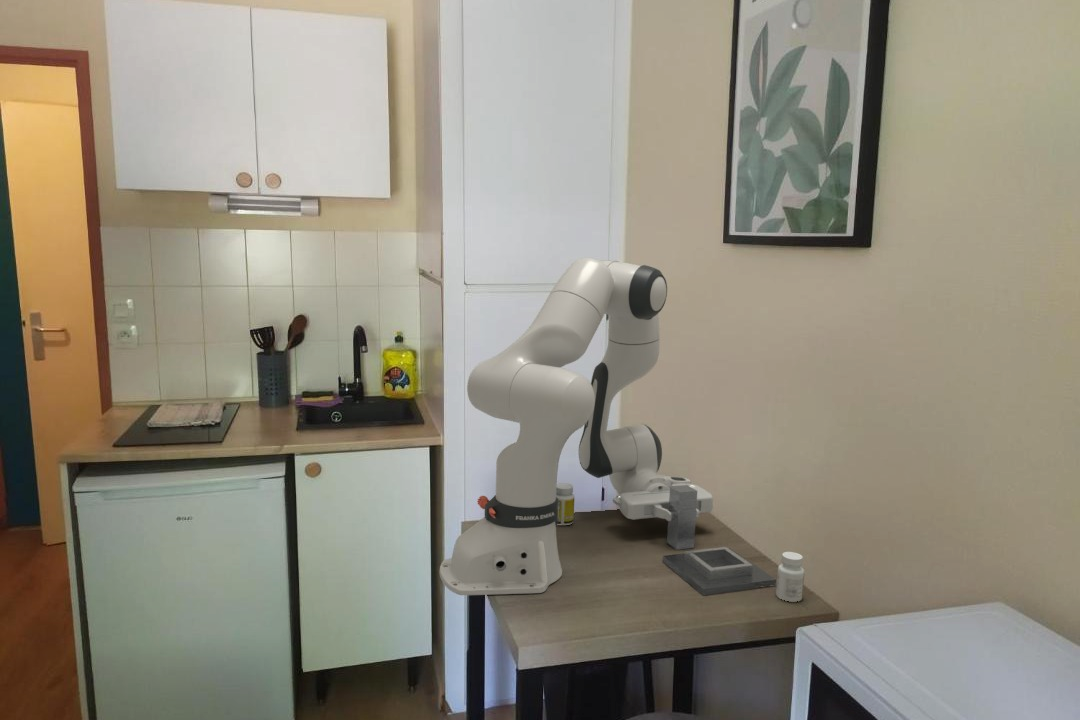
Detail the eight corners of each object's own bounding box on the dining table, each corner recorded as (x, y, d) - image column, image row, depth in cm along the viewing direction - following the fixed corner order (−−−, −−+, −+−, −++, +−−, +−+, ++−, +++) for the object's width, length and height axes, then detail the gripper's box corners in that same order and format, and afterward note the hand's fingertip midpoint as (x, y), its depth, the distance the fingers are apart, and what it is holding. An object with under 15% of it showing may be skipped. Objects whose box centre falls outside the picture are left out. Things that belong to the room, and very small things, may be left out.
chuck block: (703, 595, 133) (704, 579, 133) (662, 561, 147) (663, 546, 147) (775, 585, 138) (776, 570, 138) (729, 553, 152) (730, 539, 152)
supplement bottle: (574, 519, 168) (575, 483, 167) (573, 527, 164) (574, 489, 163) (552, 518, 169) (553, 481, 168) (550, 525, 164) (552, 488, 163)
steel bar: (676, 549, 153) (679, 492, 151) (666, 542, 157) (670, 486, 155) (693, 547, 154) (697, 490, 153) (684, 540, 158) (687, 484, 156)
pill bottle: (807, 599, 133) (811, 557, 132) (790, 605, 131) (794, 562, 130) (787, 589, 137) (790, 548, 136) (770, 594, 134) (773, 553, 133)
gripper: (610, 484, 163) (638, 505, 150) (693, 477, 170) (728, 497, 157) (608, 512, 164) (637, 535, 151) (692, 504, 170) (726, 526, 158)
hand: (684, 516), depth 154 cm, fingers closed on steel bar, 4 cm apart
